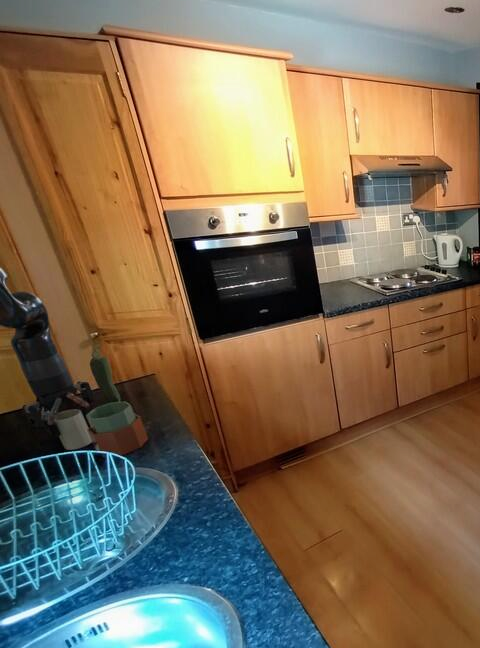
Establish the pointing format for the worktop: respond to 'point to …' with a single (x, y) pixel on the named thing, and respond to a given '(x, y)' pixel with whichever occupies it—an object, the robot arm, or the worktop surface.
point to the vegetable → (103, 376)
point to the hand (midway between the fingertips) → (72, 427)
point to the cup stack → (116, 428)
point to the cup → (72, 429)
